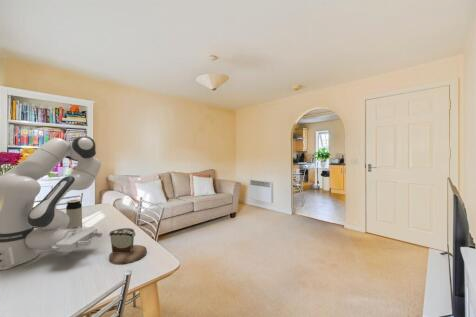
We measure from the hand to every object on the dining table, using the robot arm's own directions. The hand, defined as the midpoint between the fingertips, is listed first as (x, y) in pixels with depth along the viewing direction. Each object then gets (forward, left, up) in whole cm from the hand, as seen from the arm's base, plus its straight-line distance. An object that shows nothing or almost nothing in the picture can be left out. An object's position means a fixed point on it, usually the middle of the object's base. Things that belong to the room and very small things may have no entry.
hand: (96, 238), depth 103 cm
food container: (+12, -2, -7) cm, 15 cm away
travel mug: (-21, +51, -9) cm, 56 cm away
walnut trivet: (+14, -5, -9) cm, 17 cm away
